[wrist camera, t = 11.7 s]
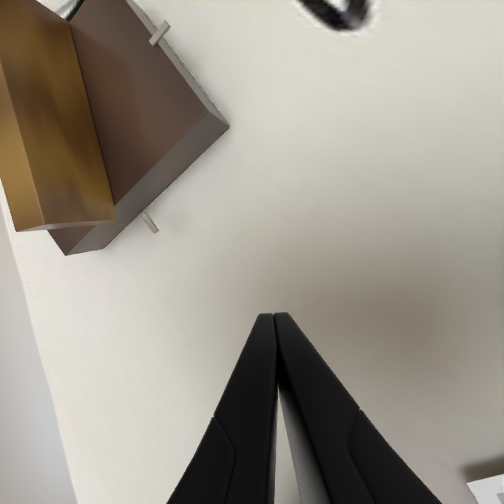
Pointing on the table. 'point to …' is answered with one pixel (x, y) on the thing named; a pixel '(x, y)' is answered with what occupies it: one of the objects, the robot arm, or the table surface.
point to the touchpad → (488, 490)
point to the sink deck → (136, 113)
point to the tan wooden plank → (47, 125)
